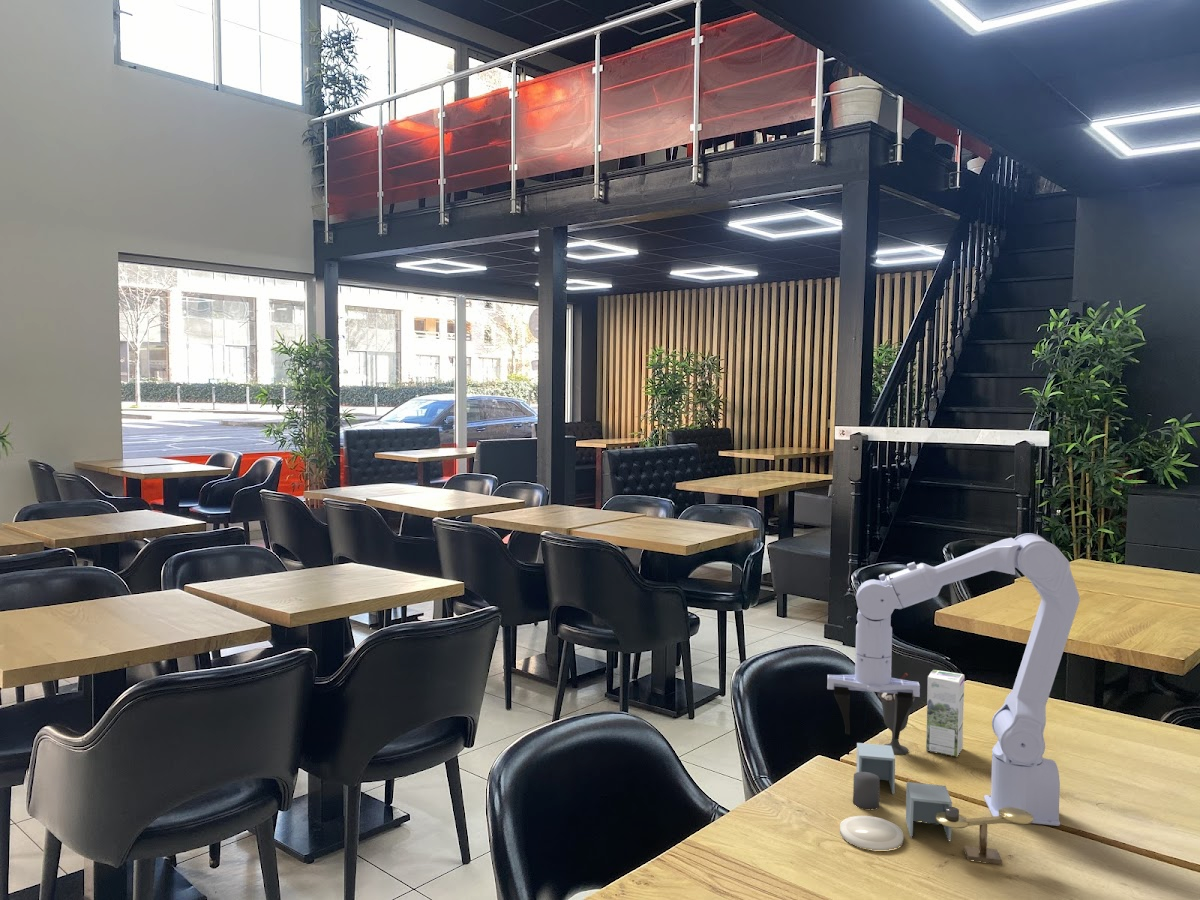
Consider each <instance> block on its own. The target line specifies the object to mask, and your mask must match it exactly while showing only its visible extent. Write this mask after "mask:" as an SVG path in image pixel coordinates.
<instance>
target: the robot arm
mask: <svg viewBox="0 0 1200 900" xmlns="http://www.w3.org/2000/svg"><path fill="white" fill-rule="evenodd" d="M906 567H907V568H904V569H901V570H899V571H896V572H893V573H890V574H889V575H886V574H885V573H882V574H879V575H878V579H874V578H873V579H868V580H865V581H863V582H862V583H861V584H860V586H858V588H857V591H856V594H855V600H856V606H857V608H858V609H857V614H856V621H857V624H856V625H855V650H854V651H855V657H854V658H855V660H854V661H855V663H854V674H827V686H826V688H827V690H833V691H834V692H833V696H834V697H835V701H836V702H837V705H838V707H839V709H840V712H841V713H840V714H841V715H842V718H843V719H842V720H843V725H844V727H845V735H851V723H850V720H851V719H850V710H851V709H850V706H851V704H850V703H851V696H850V691H860V692H869V693H870V692H871V693H873V692H874V693H880V692H882V693H894V694H895V716H894V726H893V735H894V739H898V740H900V734H901V731H900V730H901V727H902V724H903V721H904V719H905V717H906V715H907V713H908V711H909V712H910V710H911V708H912V706H913V703H914V702H913V698H912V696H914V697H915V698H916V697H918V698H920V695H921V693H920V692H921V690H920V689H921V685H920V683H919V681H912V680H907V679H901V678H895V677H892V662H893V661H892V655H893V654H892V653H893V652H892V649H893V647H892V646H893V627H892V626H891V620H892V618H891V617H892V614H893V612H894V610H895V609H896V610H897V609H898V610H902V609H905V608H908V607H911V606H913V605H916V604H919V603H922V602H925V601H927V600H931V599H933V598H935V597H938V596H939V594H940V592H941V589H942V588H943V586H946V585H950V584H952V583H955V582H960V581H962V580H965V579H969V578H971V577H972V578H973V577H976V576H979V575H981V574H984V573H988V572H991V571H995V572H999V573H1005V574H1008V575H1009V574H1010V575H1012V576H1013V575H1016V569H1017V570H1018V571H1020V572H1021V573H1022V575H1023V576H1024V577H1026V578H1027V579H1028V581H1030V583H1031V585H1032V586H1033V588H1034V589H1035V590H1036V592H1037V594H1038V595H1039V597H1040V602H1039V604H1038V609H1037V611H1036V615H1035V618H1034V621H1033V624H1032V628H1031V630H1030V633H1029V638H1028V640H1027V643H1026V646H1025V650H1024V653H1023V655H1022V660H1021V662H1020V666H1019V668H1018V671H1017V674H1016V675H1017V676H1016V678H1015V681H1014V683H1013V686H1012V687H1013V688H1012V690H1011V691H1010V692H1009V694H1007V695H1006V696H1005V700H1004V702H1003V704H1002V706H1001V707H1000V708H999V709H997V711H996V712H995V713H994V714H993V717H992V720H991V728H992V731H993V733H994V735H995V736H996V738H997V742H996V743H995V744H994V746H993V747H992V749H991V775H990V776H991V779H990V781H991V786H990V795H988V794H984V796H983V799H984V801H985V803H986V805H987V808H988V809H989V812H990V814H991V817H994V816H999V809H1001V808H1004V807H1012V808H1018V809H1022V810H1025V811H1027V812H1029V813H1030V814H1031V815H1032V816H1033V822H1031V823H1030V824H1037V825H1046V826H1056V827H1060V826H1061V822H1060V790H1061V789H1060V788H1061V783H1060V781H1061V780H1060V773H1059V768H1058V765H1057V762H1056V761H1055V760H1053V759H1050V758H1045V757H1043V756H1044V753H1045V751H1046V742H1045V738H1044V731H1045V728H1046V723H1047V719H1046V718H1047V716H1046V707H1047V703H1048V700H1049V697H1050V694H1051V691H1052V688H1053V685H1054V682H1055V680H1056V679H1055V678H1056V676H1057V672H1058V669H1059V666H1060V663H1061V660H1062V656H1063V653H1064V651H1065V650H1064V649H1065V648H1066V645H1067V641H1068V639H1069V635H1070V632H1071V629H1072V626H1073V623H1074V619H1075V617H1076V613H1077V610H1078V607H1079V604H1080V594H1079V590H1078V588H1077V585H1076V583H1075V582H1076V581H1075V579H1074V577H1073V574H1072V571H1071V564H1070V561H1069V560H1068V559H1067V557H1066V556H1065V555H1064V554H1063V553H1062V552H1061V550H1060V549H1059V548H1058V547H1057V546H1056V545H1055V544H1053V543H1051V542H1049V541H1047V540H1046V539H1045V538H1044V537H1042V536H1041V535H1039V534H1036V533H1031V532H1029V533H1028V532H1027V533H1022V534H1020V535H1017V536H1016V537H1015V538H1013V537H1008V538H1004V539H1000V540H998V541H996V542H993V543H989V544H987V545H985V546H982V547H980V548H977V549H975V550H973V551H970V552H967V553H965V554H963V555H961V556H958V557H955V558H953V559H950V560H948V561H945V562H943V563H941V564H939V565H935V566H932V565H929V564H927V563H924V562H920V563H917V564H916V562H915V561H913V562H909V563H907V564H906ZM1015 568H1016V569H1015ZM909 709H910V710H909Z"/></svg>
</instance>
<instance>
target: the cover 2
mask: <svg viewBox="0 0 1200 900" xmlns="http://www.w3.org/2000/svg"><path fill="white" fill-rule="evenodd" d="M946 807H953V802H952V799H951V796H950V793H949V791H948V788H947V786H946V785H940V784H931V783H923V782H922V783H920V782H911V781H910V782H909V781H906V796H905V821H906V822H907V823H906V822H905V823H906V826H908V827H907V830H908V829H909V830H908V834H909V833H910V834H909V837H910V838H912V836H913V834H914V822H913V821H922V822H927V823H926V824H930V823H936V824H935V825H939V824H940V823H938V822H937V821H936V814H937V813H940V812H945V809H946ZM942 826H944V825H942ZM944 829H945V830H944ZM943 830H944V833H945V832H946V833H945V836H946V835H947V836H946V838H947V837H948V839H947V841H948V840H950V841H951V842H952V828H950V827H947V826H944V827H943ZM913 837H914V836H913Z"/></svg>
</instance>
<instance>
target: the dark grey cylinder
mask: <svg viewBox="0 0 1200 900" xmlns="http://www.w3.org/2000/svg"><path fill="white" fill-rule="evenodd" d="M880 781H881V780H880V778H879V777H878V776H877V775H875V774H873V773H869V772H857V773H856V772H855V773H854V774H853V787H852V788H853V792H852V793H853V794H852V795H853V796H852V798H853V799H852V804H853V805H854V806H855V805H856V806H857V808H858V807H859V808H858V809H861V808H863V809H862V810H865V809H870V810H869V811H872V810H871V809H874V810H877V809H878V808H879V807H880ZM856 806H855V807H856ZM876 808H877V809H876Z"/></svg>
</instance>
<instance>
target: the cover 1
mask: <svg viewBox="0 0 1200 900" xmlns="http://www.w3.org/2000/svg"><path fill="white" fill-rule="evenodd" d="M857 772H869V773H873V774H875V775H877V776H878V777H879V778H880V781H888V780H889V781H888V782H889V786H890V790H891V793H892V794H893V795H895V793H896V792H895V787H896V782H895V780H896V777H895V775H896V756H895V754H894V753H893V749H892V746H889V745H884V744H874V743H864V742H856V770H855V773H857Z"/></svg>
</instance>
